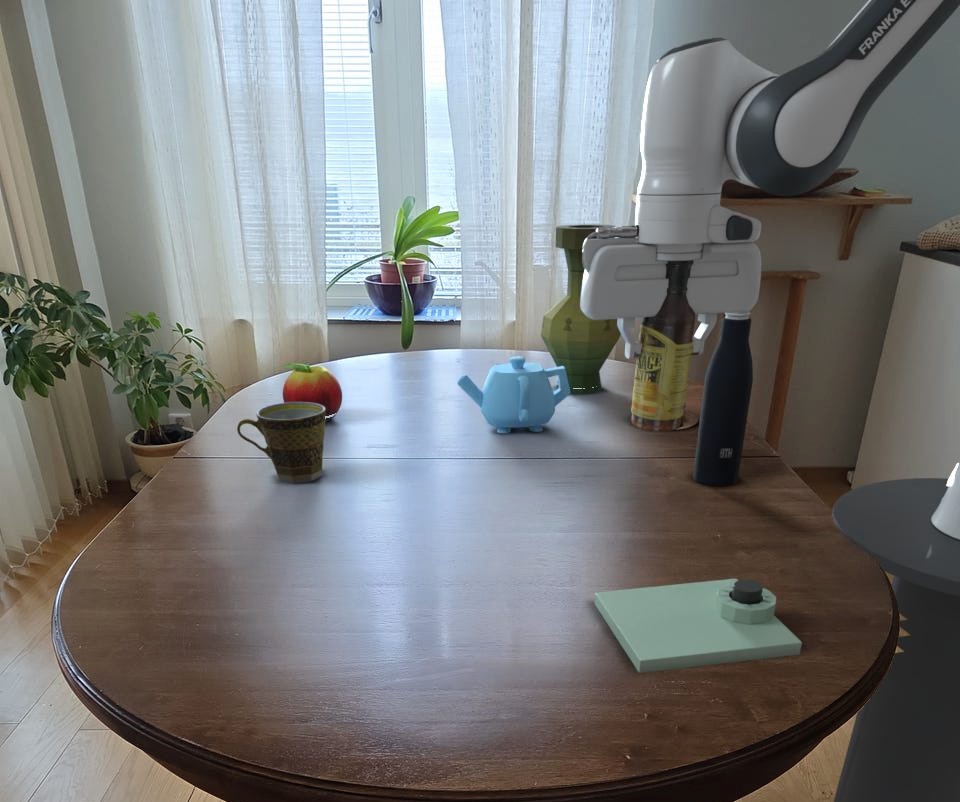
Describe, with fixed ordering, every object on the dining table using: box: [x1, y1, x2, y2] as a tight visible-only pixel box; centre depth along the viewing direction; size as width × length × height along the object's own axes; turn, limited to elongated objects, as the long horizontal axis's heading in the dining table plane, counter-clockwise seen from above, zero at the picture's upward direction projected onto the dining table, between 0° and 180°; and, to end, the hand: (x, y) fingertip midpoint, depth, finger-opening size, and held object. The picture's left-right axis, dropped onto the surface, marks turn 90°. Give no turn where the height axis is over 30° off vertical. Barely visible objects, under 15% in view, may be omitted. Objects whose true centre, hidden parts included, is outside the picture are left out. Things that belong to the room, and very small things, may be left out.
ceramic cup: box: [236, 402, 326, 484], centre depth 121 cm, size 13×10×10 cm
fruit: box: [282, 362, 343, 423], centre depth 149 cm, size 11×11×10 cm
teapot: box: [456, 356, 571, 434], centre depth 143 cm, size 20×17×12 cm
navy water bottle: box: [692, 310, 754, 487], centre depth 112 cm, size 6×6×30 cm
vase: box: [540, 223, 622, 395], centre depth 161 cm, size 16×16×30 cm
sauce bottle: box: [630, 260, 696, 433], centre depth 95 cm, size 6×6×20 cm
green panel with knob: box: [593, 578, 803, 674], centre depth 81 cm, size 16×14×3 cm
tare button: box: [732, 579, 764, 605], centre depth 81 cm, size 3×3×2 cm
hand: (664, 356), depth 96 cm, fingers closed on sauce bottle, 6 cm apart
